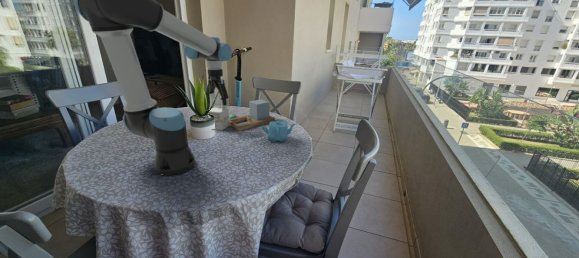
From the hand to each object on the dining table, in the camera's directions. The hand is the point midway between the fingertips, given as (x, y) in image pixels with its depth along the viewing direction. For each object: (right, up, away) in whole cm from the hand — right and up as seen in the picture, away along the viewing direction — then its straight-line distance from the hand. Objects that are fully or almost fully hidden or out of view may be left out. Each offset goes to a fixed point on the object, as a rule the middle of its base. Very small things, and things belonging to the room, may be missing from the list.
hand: (218, 107), depth 133 cm
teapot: (+33, -17, -7) cm, 38 cm away
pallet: (+16, -9, +12) cm, 22 cm away
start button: (+3, -6, +15) cm, 17 cm away
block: (+21, -7, +15) cm, 27 cm away
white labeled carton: (-1, -12, +4) cm, 13 cm away
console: (+3, -7, +16) cm, 17 cm away
